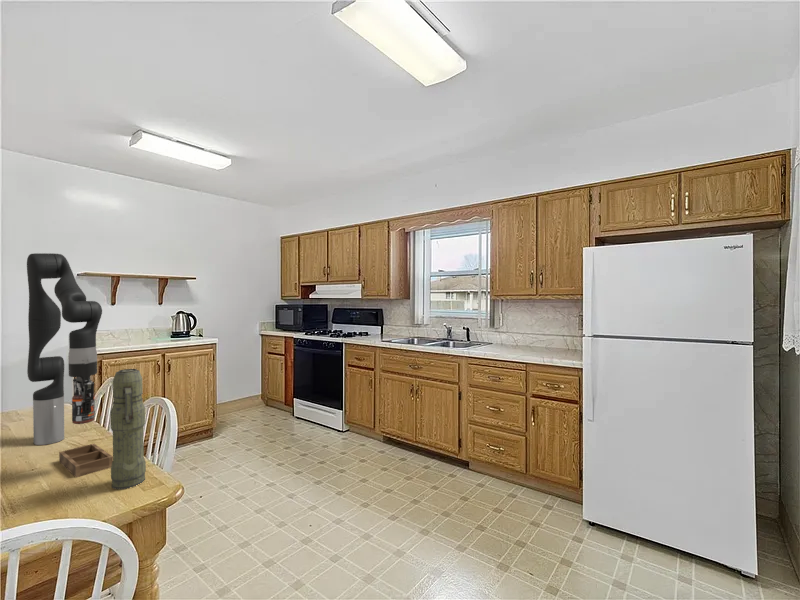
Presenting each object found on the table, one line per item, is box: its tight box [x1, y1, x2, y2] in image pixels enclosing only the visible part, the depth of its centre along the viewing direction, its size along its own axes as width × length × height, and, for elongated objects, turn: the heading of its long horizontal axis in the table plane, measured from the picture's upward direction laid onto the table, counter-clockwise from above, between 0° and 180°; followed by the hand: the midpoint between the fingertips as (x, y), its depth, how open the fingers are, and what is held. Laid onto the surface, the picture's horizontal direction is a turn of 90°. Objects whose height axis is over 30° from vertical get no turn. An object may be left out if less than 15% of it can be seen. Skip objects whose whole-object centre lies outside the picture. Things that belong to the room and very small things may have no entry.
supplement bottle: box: [71, 388, 96, 425], centre depth 135 cm, size 6×6×11 cm
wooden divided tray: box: [58, 443, 113, 478], centre depth 139 cm, size 19×10×4 cm, turn 52°
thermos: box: [110, 368, 147, 490], centre depth 125 cm, size 9×12×35 cm
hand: (83, 411), depth 135 cm, fingers closed on supplement bottle, 6 cm apart
